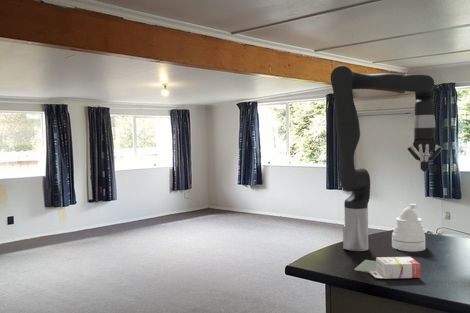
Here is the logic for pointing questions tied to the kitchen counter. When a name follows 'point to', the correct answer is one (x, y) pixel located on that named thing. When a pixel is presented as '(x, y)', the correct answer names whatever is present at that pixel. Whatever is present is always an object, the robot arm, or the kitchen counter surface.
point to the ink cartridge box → (396, 268)
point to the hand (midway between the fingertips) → (424, 171)
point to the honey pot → (408, 231)
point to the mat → (366, 266)
